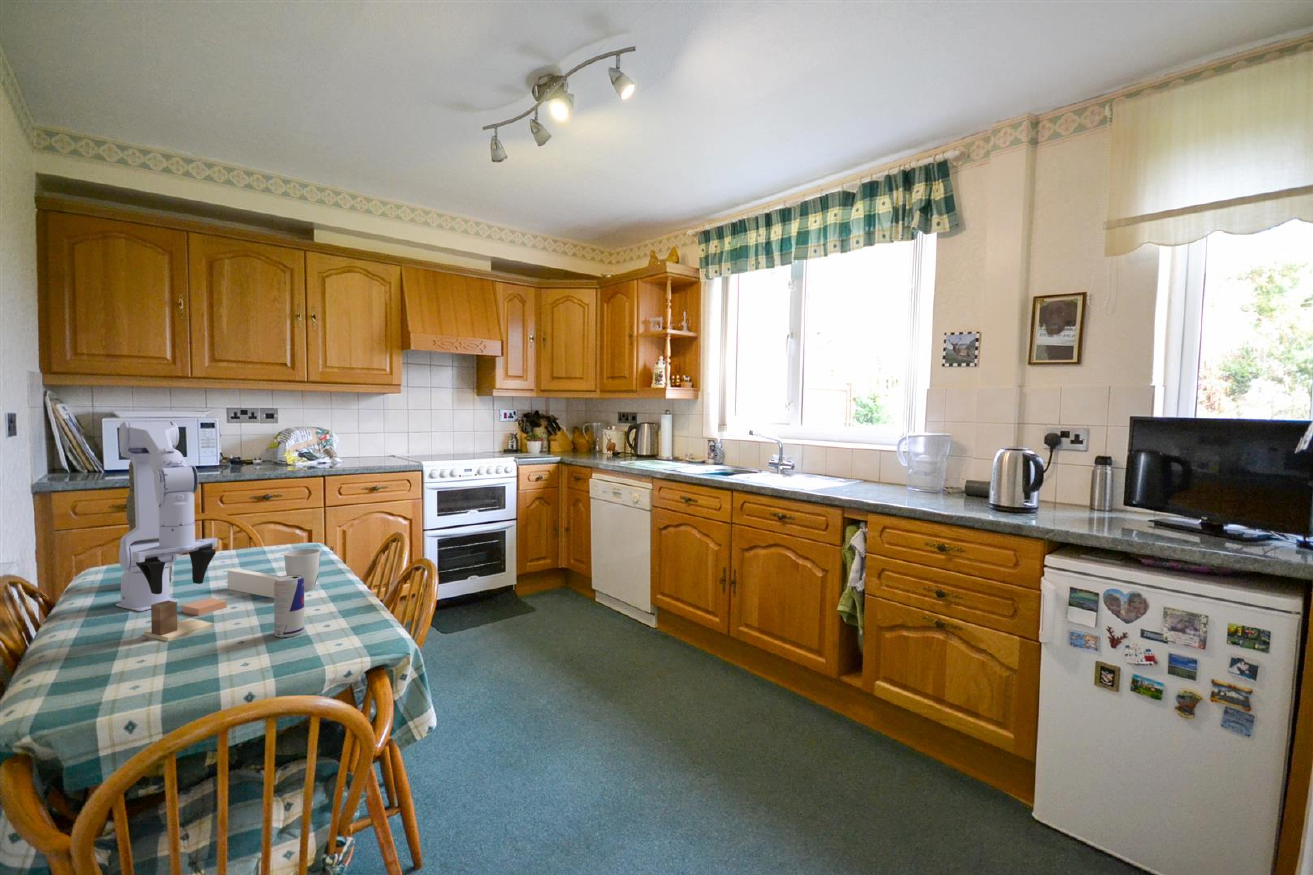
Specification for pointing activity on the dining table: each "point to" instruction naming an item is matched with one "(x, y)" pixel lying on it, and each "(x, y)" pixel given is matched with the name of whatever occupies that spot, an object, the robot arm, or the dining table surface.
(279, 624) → the energy drink
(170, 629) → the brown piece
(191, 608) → the tile
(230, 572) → the batten
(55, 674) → the dining table surface
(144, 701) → the dining table surface
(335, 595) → the dining table surface
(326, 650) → the dining table surface
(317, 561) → the cup
